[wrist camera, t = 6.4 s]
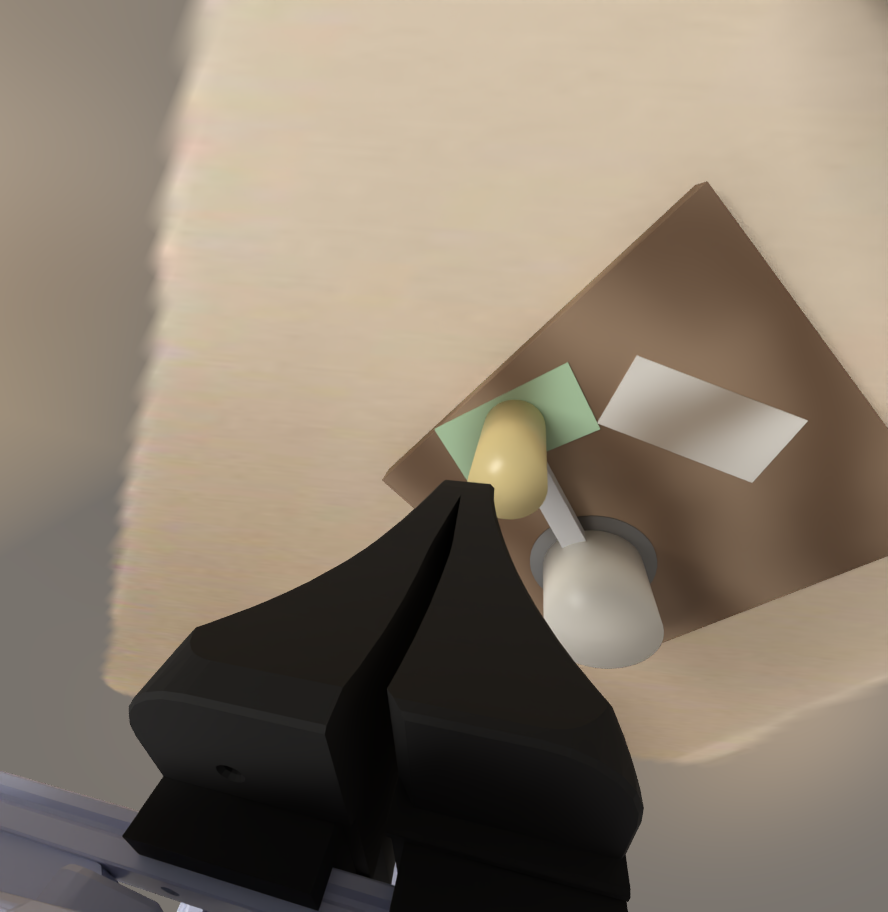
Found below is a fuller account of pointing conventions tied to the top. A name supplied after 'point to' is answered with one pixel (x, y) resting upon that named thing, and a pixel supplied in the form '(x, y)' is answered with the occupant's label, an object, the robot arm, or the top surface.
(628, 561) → the peg lever
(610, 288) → the brown flat square board
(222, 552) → the top surface
